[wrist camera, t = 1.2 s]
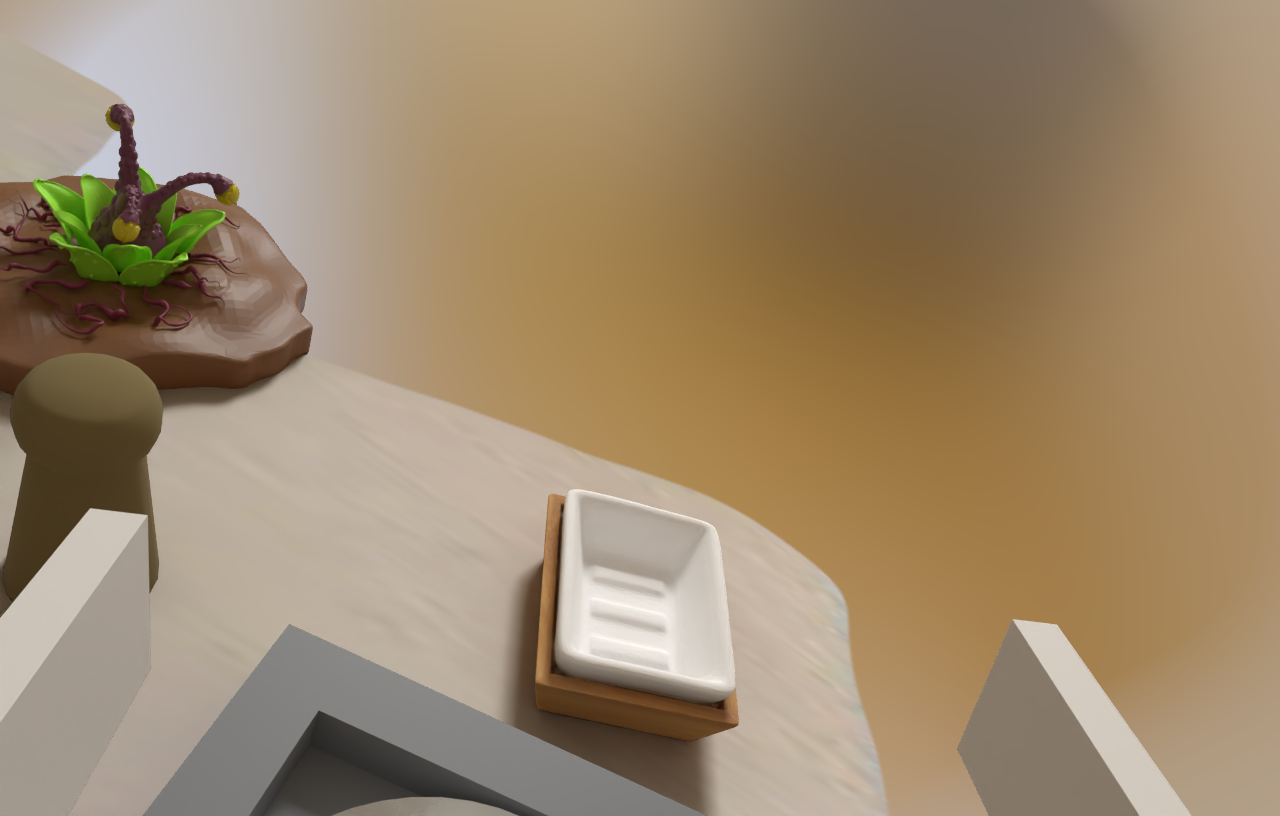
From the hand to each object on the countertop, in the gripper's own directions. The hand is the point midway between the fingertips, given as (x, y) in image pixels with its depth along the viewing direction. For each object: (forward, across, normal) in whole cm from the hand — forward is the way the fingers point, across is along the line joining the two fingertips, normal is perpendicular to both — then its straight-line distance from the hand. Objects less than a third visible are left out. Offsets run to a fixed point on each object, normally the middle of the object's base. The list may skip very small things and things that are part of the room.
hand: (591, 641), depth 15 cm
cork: (+26, -19, -20) cm, 38 cm away
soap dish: (+29, +6, -23) cm, 38 cm away
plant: (+46, -25, -15) cm, 55 cm away
